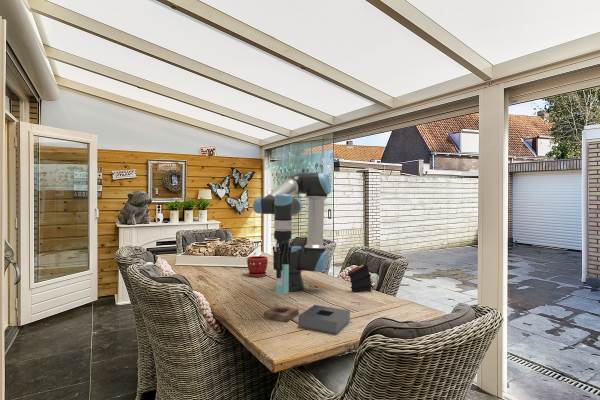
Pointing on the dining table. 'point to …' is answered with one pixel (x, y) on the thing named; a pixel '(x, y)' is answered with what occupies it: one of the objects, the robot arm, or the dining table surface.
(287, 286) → the peg
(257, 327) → the dining table surface
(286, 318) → the brown flat piece
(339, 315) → the port
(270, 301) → the dining table surface
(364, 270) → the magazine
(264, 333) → the dining table surface
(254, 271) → the plant pot
